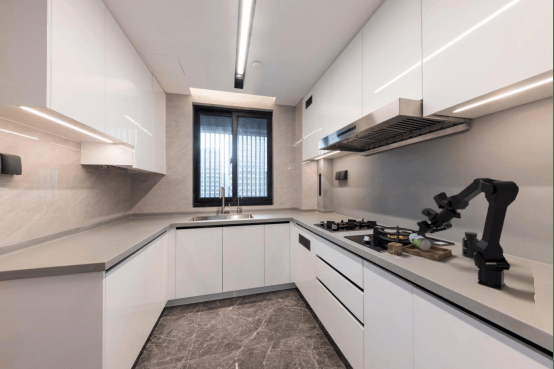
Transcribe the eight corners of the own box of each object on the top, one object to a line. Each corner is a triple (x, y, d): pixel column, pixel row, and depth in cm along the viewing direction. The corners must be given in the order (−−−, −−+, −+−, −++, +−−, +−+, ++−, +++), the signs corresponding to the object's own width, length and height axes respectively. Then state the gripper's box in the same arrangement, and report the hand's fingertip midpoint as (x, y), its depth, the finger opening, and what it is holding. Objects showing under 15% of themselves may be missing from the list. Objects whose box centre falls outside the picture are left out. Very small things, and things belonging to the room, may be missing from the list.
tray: (451, 254, 121) (451, 249, 121) (437, 261, 113) (437, 256, 113) (417, 246, 136) (417, 242, 135) (402, 252, 127) (402, 247, 127)
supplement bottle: (460, 256, 119) (460, 232, 118) (464, 253, 123) (464, 230, 122) (477, 259, 113) (477, 235, 113) (481, 256, 117) (481, 232, 117)
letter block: (402, 253, 125) (402, 244, 125) (397, 255, 123) (396, 246, 122) (393, 251, 130) (393, 242, 129) (387, 253, 127) (387, 243, 127)
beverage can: (425, 239, 121) (413, 228, 133) (416, 250, 123) (405, 238, 135) (435, 244, 122) (422, 233, 133) (426, 255, 124) (414, 243, 135)
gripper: (446, 202, 123) (426, 219, 133) (419, 204, 116) (401, 223, 127) (462, 219, 116) (440, 236, 126) (435, 223, 109) (414, 241, 120)
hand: (423, 233), depth 125 cm, fingers open, 9 cm apart
